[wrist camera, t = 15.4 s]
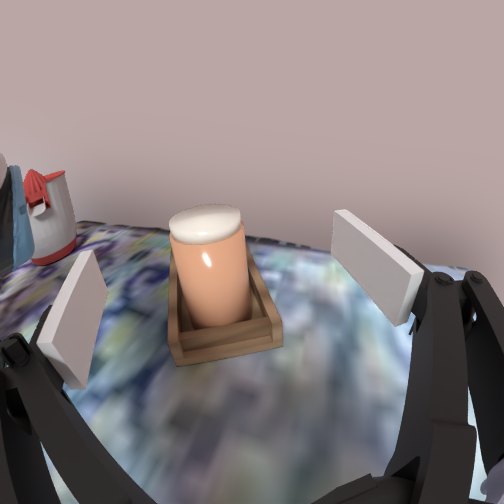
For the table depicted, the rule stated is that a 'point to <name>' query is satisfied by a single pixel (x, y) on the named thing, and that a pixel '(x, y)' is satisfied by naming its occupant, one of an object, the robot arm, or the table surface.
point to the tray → (226, 336)
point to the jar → (212, 264)
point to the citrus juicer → (50, 216)
